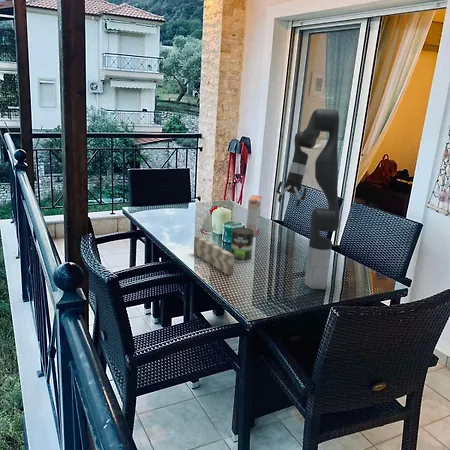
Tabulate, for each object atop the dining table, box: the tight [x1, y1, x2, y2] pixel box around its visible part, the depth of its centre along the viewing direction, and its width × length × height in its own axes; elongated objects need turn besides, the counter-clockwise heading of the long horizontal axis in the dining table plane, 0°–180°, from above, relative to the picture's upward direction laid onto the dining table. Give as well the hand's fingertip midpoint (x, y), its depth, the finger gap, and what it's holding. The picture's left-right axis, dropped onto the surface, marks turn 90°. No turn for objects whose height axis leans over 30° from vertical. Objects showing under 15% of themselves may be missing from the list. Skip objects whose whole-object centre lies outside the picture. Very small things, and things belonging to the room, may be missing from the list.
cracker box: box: [245, 194, 262, 238], centre depth 257 cm, size 14×6×21 cm, turn 168°
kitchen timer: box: [201, 205, 218, 232], centre depth 256 cm, size 14×14×15 cm
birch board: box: [193, 235, 235, 276], centre depth 208 cm, size 30×2×9 cm, turn 34°
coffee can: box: [230, 227, 254, 263], centre depth 216 cm, size 10×10×14 cm
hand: (287, 204), depth 225 cm, fingers open, 8 cm apart
